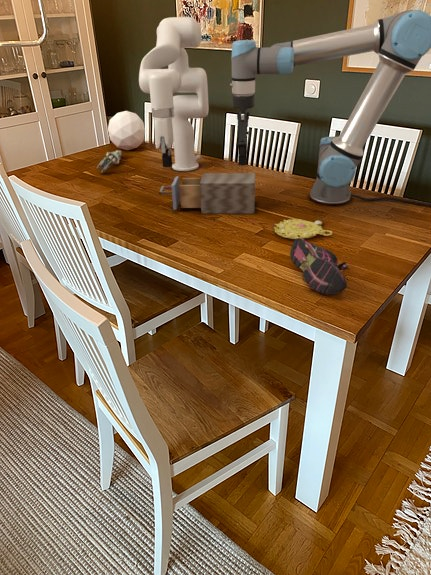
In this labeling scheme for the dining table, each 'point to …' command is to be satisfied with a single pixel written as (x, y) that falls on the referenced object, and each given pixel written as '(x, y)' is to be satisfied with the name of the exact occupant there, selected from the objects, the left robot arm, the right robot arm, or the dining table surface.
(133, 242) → the dining table surface
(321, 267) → the athletic shoe
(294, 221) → the decorative object
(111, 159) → the figurine
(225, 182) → the cabinet
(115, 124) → the sphere
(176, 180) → the drawer
